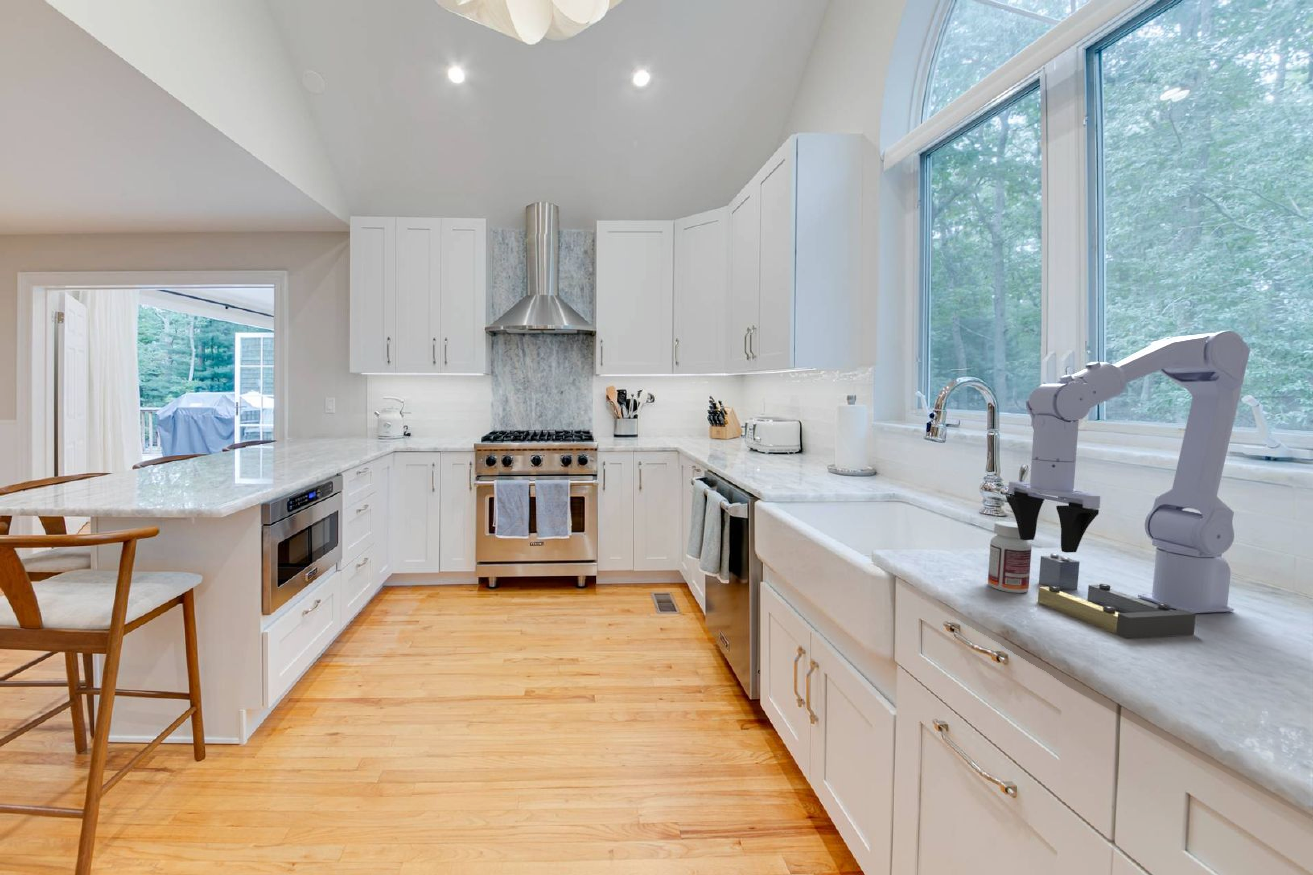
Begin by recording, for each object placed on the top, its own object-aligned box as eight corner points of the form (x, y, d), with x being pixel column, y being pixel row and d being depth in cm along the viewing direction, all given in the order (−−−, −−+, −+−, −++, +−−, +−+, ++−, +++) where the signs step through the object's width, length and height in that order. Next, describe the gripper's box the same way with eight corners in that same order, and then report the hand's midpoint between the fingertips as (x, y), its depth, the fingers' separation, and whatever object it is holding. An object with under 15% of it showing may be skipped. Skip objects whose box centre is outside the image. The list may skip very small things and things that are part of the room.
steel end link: (1096, 599, 96) (1097, 581, 96) (1181, 630, 83) (1183, 609, 83) (1087, 599, 95) (1088, 581, 95) (1171, 630, 83) (1173, 609, 83)
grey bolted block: (1057, 582, 105) (1059, 552, 105) (1077, 589, 101) (1079, 558, 101) (1038, 583, 104) (1041, 553, 104) (1058, 590, 100) (1060, 559, 100)
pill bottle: (1035, 590, 100) (1040, 526, 99) (1017, 596, 96) (1022, 529, 96) (998, 580, 105) (1002, 519, 104) (980, 585, 101) (984, 522, 101)
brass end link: (1047, 601, 94) (1048, 582, 94) (1126, 633, 81) (1128, 612, 81) (1037, 601, 94) (1039, 583, 93) (1116, 634, 81) (1118, 612, 81)
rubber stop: (1181, 630, 83) (1183, 609, 83) (1193, 634, 82) (1195, 613, 81) (1116, 634, 81) (1117, 613, 81) (1127, 638, 79) (1129, 617, 79)
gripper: (995, 455, 96) (990, 535, 97) (1074, 465, 82) (1067, 558, 83) (1030, 455, 98) (1025, 534, 99) (1114, 465, 84) (1107, 557, 85)
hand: (1047, 545), depth 91 cm, fingers open, 7 cm apart
